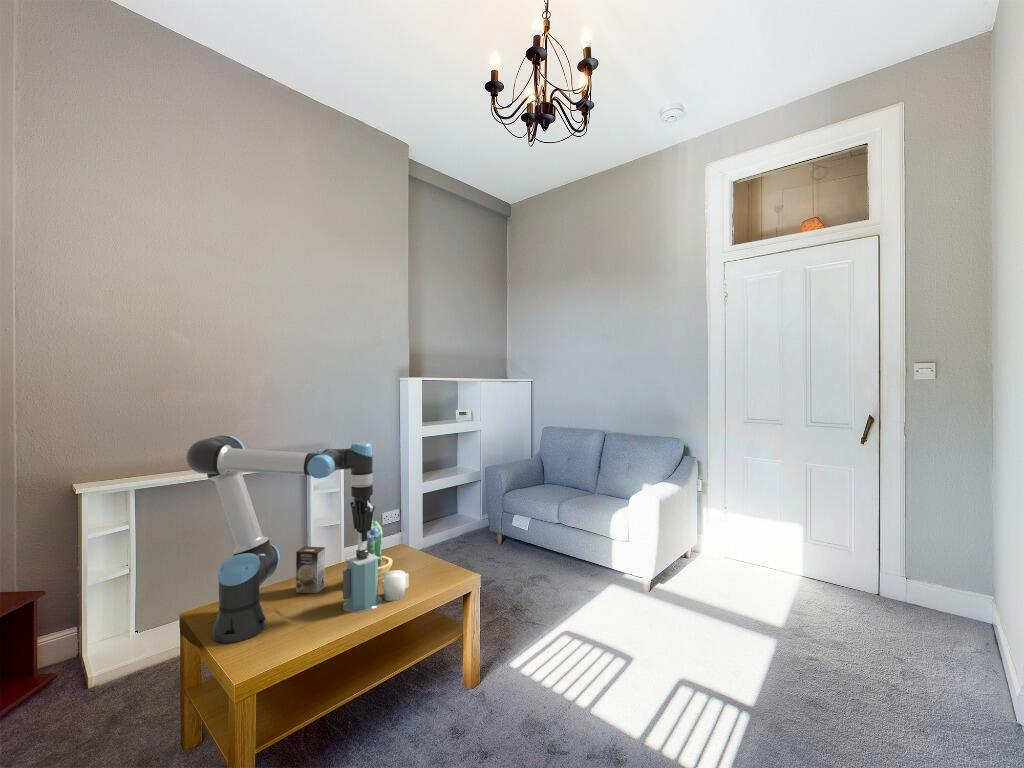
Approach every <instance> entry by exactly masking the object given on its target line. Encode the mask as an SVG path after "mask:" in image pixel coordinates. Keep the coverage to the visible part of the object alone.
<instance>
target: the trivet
mask: <svg viewBox="0 0 1024 768" xmlns="http://www.w3.org/2000/svg"><path fill="white" fill-rule="evenodd" d="M383 600H384V599H383V598H382V597H381V596H380V595H378V601H377V603H376V605H375V606H372V607H370V608H367V609H362V610H353V609H351V608H349V607H348V606H347V600H346V601H344V602H343V604H342V609H343V610H344V611H346V612H350V613H365V612H368V611H369V612H370V611H373V610H375V609H376V608H379V607H380V606H381V605H382V604H383Z"/></svg>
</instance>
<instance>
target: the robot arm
mask: <svg viewBox="0 0 1024 768" xmlns="http://www.w3.org/2000/svg"><path fill="white" fill-rule="evenodd" d="M373 456H374V454H373V446H372V443H370V442H366V441H363V442H354V443H353V442H352V443H351V445H350V448H326V449H319V450H317V451H316V453H315V452H299V451H286V450H284V451H283V450H269V449H268V450H266V449H249V448H245V446H244V444H243V442H242V441H241V440H240V439H239V438H237V437H235V436H233V435H225V434H223V435H216V436H214V437H209V438H208V437H207V438H202V439H200V440H198V441H197V440H196V441H195V443H193V444H191V446H190V447H189V448H188V450H187V453H186V456H185V457H186V459H185V460H186V463H187V465H188V466H189V468H190V469H191V470H192V471H194V472H195V473H198V474H202V475H203V474H204V475H205V474H206V475H207V479H208V480H210V481H212V482H214V483H215V487H216V489H217V493H218V495H219V498H220V502H221V504H222V507H223V510H224V514H225V517H226V519H227V523H228V525H229V529H230V532H231V533H232V534H231V535H232V537H233V540H234V544H235V548H234V550H233V552H232V554H233V556H230V557H229V558H226V559H225V560H224V561H223V562H222V563H221V564H220V566H219V568H218V575H217V579H218V613H217V616H216V619H215V622H214V625H213V628H212V639H213V641H214V642H216V643H220V642H221V643H222V644H229V643H236V642H237V643H238V642H241V641H245V640H248V639H251V638H253V637H255V636H257V635H258V634H260V633H262V632H263V630H264V629H266V626H267V620H266V615H265V613H264V610H263V607H262V605H261V602H260V599H261V595H260V594H261V589H260V587H261V585H262V584H263V583H264V582H265V581H266V580H268V578H270V577H271V576H272V575H274V573H275V571H276V570H277V568H278V567H279V564H280V561H281V560H280V559H281V556H280V554H281V553H280V552H279V549H278V548H277V547H276V545H274V544H271V541H270V538H269V537H267V536H265V535H263V533H262V530H261V527H260V524H259V521H258V518H257V514H256V512H255V508H254V506H253V502H252V499H251V497H250V493H249V491H248V488H247V484H246V481H245V478H244V475H243V473H252V474H253V473H255V474H257V473H259V474H272V475H273V474H276V475H278V474H279V475H291V476H292V475H293V476H311V477H312V478H314V479H318V480H319V479H325V478H326V477H327V478H328V477H329V476H330V475H331V474H333V473H334V472H335V471H341V470H350V474H351V475H350V476H351V477H350V485H351V487H350V489H351V491H350V492H351V493H350V495H351V497H352V498H353V501H351V502H349V505H350V508H351V513H352V514H351V515H352V522H353V528H354V530H356V532H357V548H358V550H359V551H362V550H365V549H367V532H368V531H370V530H371V525H372V521H373V517H374V511H375V509H376V506H375V505H372V504H371V503H372V502H371V498H370V497H372V495H373V494H374V493H373V491H374V487H373V482H374V481H373V476H374V475H373V468H374V467H373V460H374V459H373V458H374V457H373ZM221 643H220V644H221Z"/></svg>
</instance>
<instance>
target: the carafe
mask: <svg viewBox="0 0 1024 768" xmlns="http://www.w3.org/2000/svg"><path fill="white" fill-rule="evenodd" d="M378 559H380V557H378V556H375V555H373V554H370V553H369V556H367V557H364V559H363V560H361V558H358V557H356V554H355V555H351V556H349V557H346V558H345V559H344V560H345V561H347V562H346V569H343V570H342V589H343V590H342V599H343V600H346V601H347V606H348V607H349V608H351V609H353V610H362V609H367V608H370V607H372V606H375V605H376V603H377V601H378V596H379V583H378Z"/></svg>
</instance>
